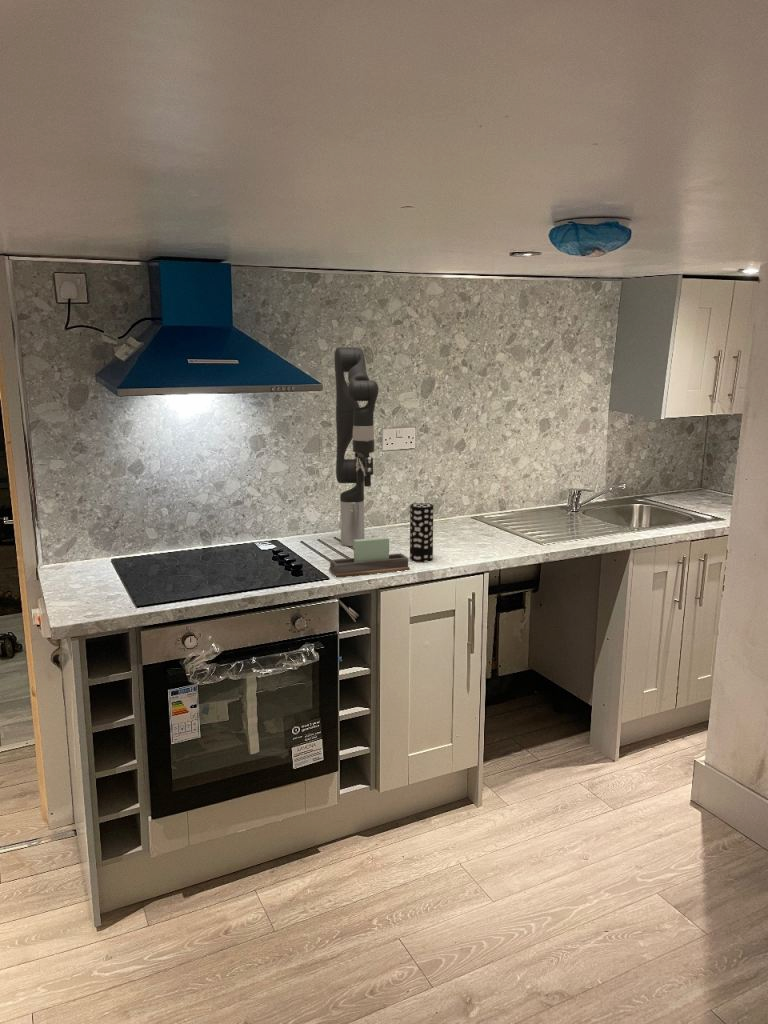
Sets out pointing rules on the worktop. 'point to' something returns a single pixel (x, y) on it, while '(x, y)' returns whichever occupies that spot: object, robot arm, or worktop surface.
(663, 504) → the worktop surface
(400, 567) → the door track
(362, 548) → the door panel
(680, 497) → the worktop surface
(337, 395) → the robot arm
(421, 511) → the spotted tube
